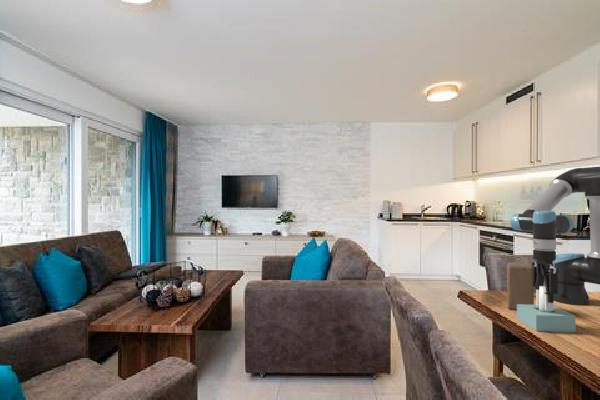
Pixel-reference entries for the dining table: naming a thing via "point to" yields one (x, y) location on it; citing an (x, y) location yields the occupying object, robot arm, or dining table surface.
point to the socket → (546, 319)
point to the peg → (542, 299)
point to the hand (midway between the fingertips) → (544, 307)
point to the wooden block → (519, 285)
